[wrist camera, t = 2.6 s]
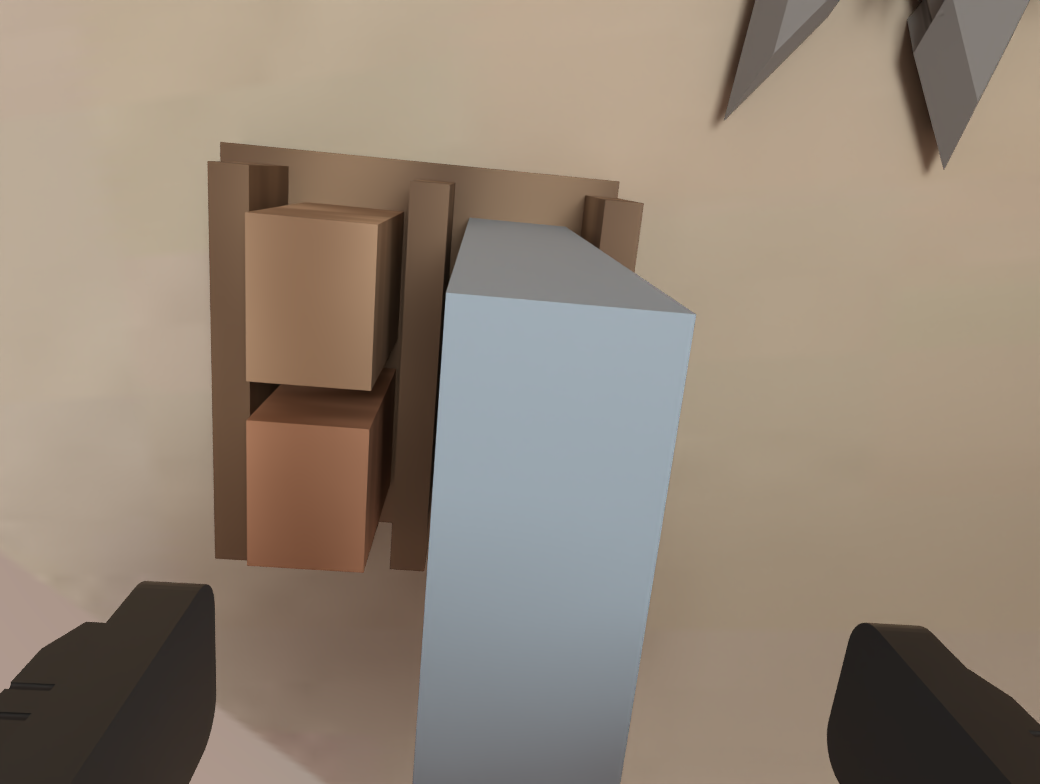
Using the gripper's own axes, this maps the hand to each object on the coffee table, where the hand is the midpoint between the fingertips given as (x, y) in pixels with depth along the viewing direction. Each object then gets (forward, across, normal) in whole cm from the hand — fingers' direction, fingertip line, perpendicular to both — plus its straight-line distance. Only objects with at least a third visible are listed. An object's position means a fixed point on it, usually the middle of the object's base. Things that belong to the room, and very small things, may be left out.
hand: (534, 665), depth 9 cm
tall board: (+16, 0, 0) cm, 16 cm away
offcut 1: (+16, +5, -2) cm, 17 cm away
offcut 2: (+16, +5, +2) cm, 17 cm away
